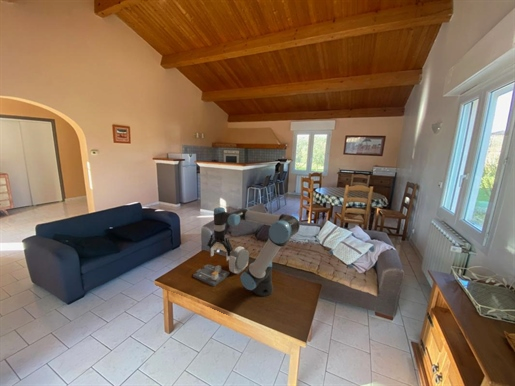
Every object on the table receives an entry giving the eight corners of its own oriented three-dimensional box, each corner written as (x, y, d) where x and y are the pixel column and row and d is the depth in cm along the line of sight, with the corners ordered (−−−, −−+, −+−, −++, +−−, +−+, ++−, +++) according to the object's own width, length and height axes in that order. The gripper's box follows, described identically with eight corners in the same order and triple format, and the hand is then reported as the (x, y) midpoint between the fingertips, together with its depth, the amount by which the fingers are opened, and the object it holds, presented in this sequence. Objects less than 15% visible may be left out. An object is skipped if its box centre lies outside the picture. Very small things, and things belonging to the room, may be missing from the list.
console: (229, 274, 171) (229, 270, 171) (214, 286, 156) (214, 282, 156) (209, 266, 182) (209, 262, 181) (193, 276, 167) (193, 272, 166)
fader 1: (218, 277, 163) (218, 272, 162) (214, 280, 159) (214, 274, 158) (215, 276, 164) (215, 271, 163) (211, 279, 161) (211, 273, 160)
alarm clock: (241, 264, 187) (242, 242, 183) (249, 267, 183) (250, 245, 178) (227, 273, 173) (227, 250, 169) (235, 277, 168) (236, 253, 164)
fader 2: (221, 271, 171) (221, 266, 170) (217, 273, 168) (217, 268, 167) (218, 270, 173) (218, 264, 172) (214, 272, 170) (214, 267, 169)
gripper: (237, 230, 149) (237, 259, 153) (208, 225, 160) (209, 251, 164) (231, 234, 143) (231, 264, 147) (201, 228, 153) (202, 256, 157)
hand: (219, 257), depth 155 cm, fingers open, 13 cm apart
